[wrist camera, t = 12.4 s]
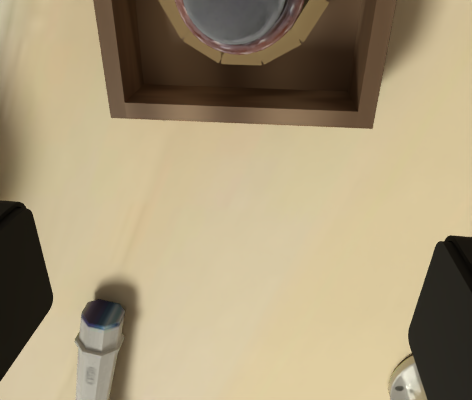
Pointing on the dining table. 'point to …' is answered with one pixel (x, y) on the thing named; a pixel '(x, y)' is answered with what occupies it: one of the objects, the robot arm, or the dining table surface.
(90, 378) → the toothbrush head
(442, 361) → the robot arm
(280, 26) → the supplement bottle
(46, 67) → the dining table surface
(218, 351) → the dining table surface
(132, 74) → the walled box
